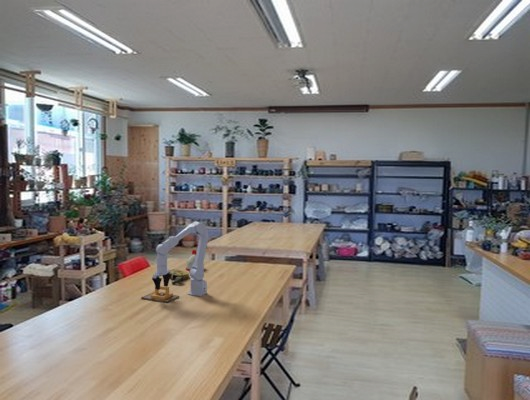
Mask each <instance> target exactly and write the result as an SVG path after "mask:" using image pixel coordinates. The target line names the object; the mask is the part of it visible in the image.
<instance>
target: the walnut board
mask: <svg viewBox="0 0 530 400" xmlns="http://www.w3.org/2000/svg"><path fill="white" fill-rule="evenodd" d="M153 294H155V291H153V292H151V293H149V294H146V295H143V296H141V297H140V299H141V300H145V301H151V300H152V302H158V303H159V302H160V303H165V304H168V303H170V302H173V301H174V300H177V299H179V298H180V295H178V294H177V295H176V294H173V296H171V297H169V298H167V299H164V300H162V299H155V298H151V295H153ZM159 296H161V295H159ZM163 296H165V295H163Z"/></svg>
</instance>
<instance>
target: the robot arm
mask: <svg viewBox="0 0 530 400" xmlns="http://www.w3.org/2000/svg"><path fill="white" fill-rule="evenodd" d="M189 234H196V235H197V236H198V237H199V239H198V244H197V249H196V252H197V253H196V258H195V262H194V264H193V265H192V268H191V269H190V271H188V273H189V274H188V275H189V276H190V292H188V293H187V295H191V296H196V297H202V296H204V295H206V294H208V291H207V290H208V284H207V283H208V282H207V281H206V280H205V279H204V278H205V272H204V271H205V266H204V267H203V264H204V261H205V257H206V252H207V247H208V242H209V237H210V236H209V231H208V226H207V225H206V224H205V223H204V222H199V221H195V220H194V221H193V222H192V223H189V224H188V225H187V226H185V228H184V229H182V230H181V231H180V232H179V233H177V234H176V235H171V236H169V237H168V238H166V240H165V241H162V242H161V243H160V244H158V245H157V246H156V248H155V252H156V271H155V273H154V274H153V275H152V277H151V280H152V281H153V284H154V288H155V287H156V290H159V291H161V289H160V286H161V283H162V280H163V286H164V287H169V282H170V279H171V278H170V277H171V276H172V274H170V273H171V270H172V269H168V254H169V251H170V250H172V249H173V248H174V247H176V246H177V245H178V244H179V241H181V240H182V239H184V238H185V237H186V236H188V235H189Z"/></svg>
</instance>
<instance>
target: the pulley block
mask: <svg viewBox="0 0 530 400" xmlns="http://www.w3.org/2000/svg"><path fill="white" fill-rule="evenodd" d="M170 270H171V273H170V274H172V276H171V277H170V279H171V280H172V281H171V283H172V284H173V285H174V284H178V283H179V282H182V281H184V280H187V279H188V278H189V275H190V274H189V271H187V270H186V271H185V270H181V269H170Z"/></svg>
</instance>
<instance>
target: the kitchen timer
mask: <svg viewBox="0 0 530 400" xmlns="http://www.w3.org/2000/svg"><path fill="white" fill-rule="evenodd" d="M196 253H197V249H196V250H195V249H193V250H192V251H191V256H189V258H188V259H187V260H186V263H185V270H186V272H190V269H191V268H192V265H193V264H194V262H195V258H196ZM203 267H204V268H205V265H204V263H203Z"/></svg>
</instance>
